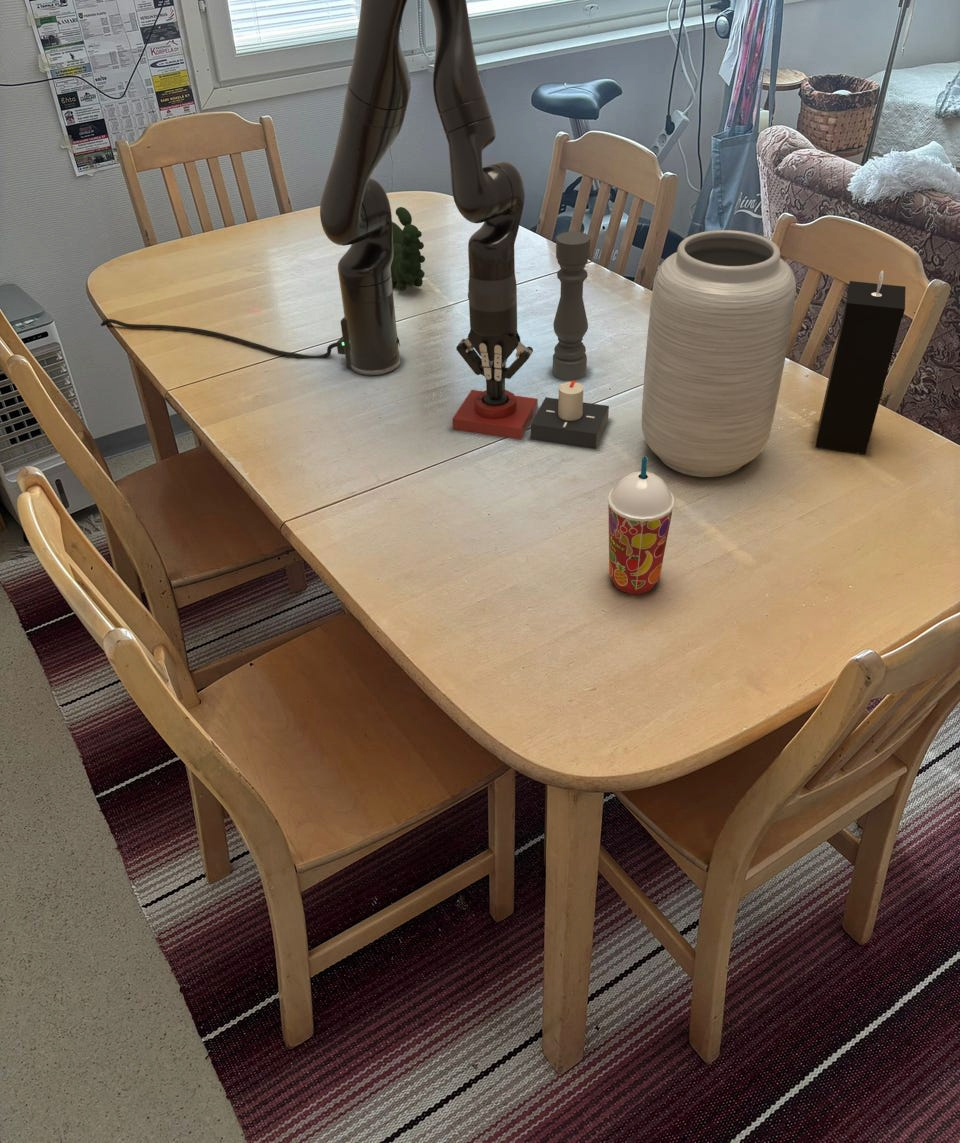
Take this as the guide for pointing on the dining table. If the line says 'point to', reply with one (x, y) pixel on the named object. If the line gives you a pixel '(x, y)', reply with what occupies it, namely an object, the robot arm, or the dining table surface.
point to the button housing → (495, 415)
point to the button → (495, 402)
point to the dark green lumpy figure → (406, 252)
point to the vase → (716, 351)
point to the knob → (570, 401)
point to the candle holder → (571, 306)
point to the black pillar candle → (860, 365)
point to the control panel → (569, 425)
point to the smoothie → (638, 530)
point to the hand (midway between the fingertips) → (495, 397)
